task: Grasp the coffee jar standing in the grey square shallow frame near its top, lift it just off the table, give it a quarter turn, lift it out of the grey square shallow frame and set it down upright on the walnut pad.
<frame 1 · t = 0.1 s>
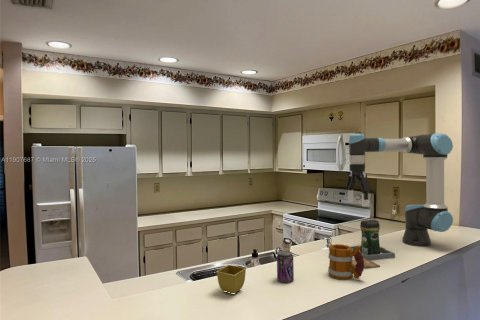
hand: (357, 204, 168), 28 cm above the counter, fingers open, 13 cm apart
coffee jar: (370, 254, 173), resting in grey square shallow frame
pad: (362, 264, 157), on the counter
beverage can: (285, 280, 139), on the counter
mug: (345, 277, 142), on the counter
grey square shallow frame: (370, 254, 173), on the counter
flower pot: (231, 292, 128), on the counter
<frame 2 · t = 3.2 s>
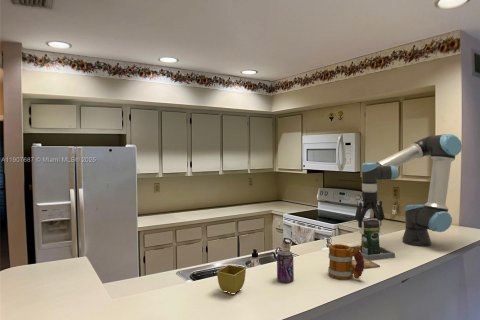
hand: (369, 232, 172), 12 cm above the counter, fingers closed on coffee jar, 9 cm apart
coffee jar: (370, 254, 173), resting in grey square shallow frame, touching gripper
everything else where it was.
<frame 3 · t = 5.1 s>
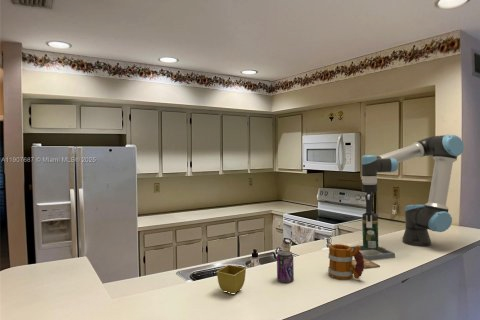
hand: (370, 225, 172), 16 cm above the counter, fingers closed on coffee jar, 9 cm apart
coffee jar: (370, 247, 173), point 4 cm above the counter, touching gripper
everything else where it was.
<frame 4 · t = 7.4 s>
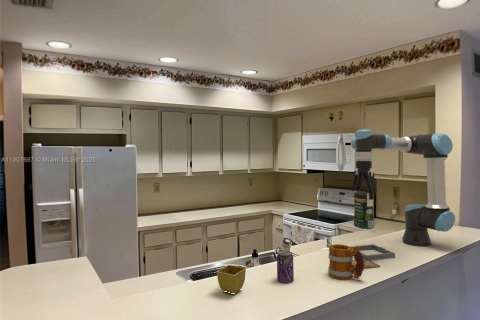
hand: (363, 204, 162), 28 cm above the counter, fingers closed on coffee jar, 9 cm apart
coffee jar: (363, 228, 162), point 17 cm above the counter, touching gripper
everything else where it was.
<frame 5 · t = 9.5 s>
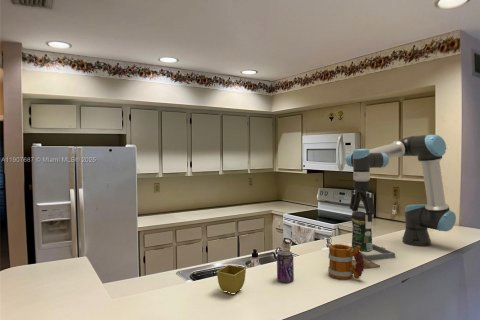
hand: (361, 226, 157), 19 cm above the counter, fingers closed on coffee jar, 9 cm apart
coffee jar: (362, 250, 157), point 7 cm above the counter, touching gripper
everything else where it was.
when the fingers open (13 cm above the counter, at t = 11.6 s): coffee jar stays where it is, resting on pad.
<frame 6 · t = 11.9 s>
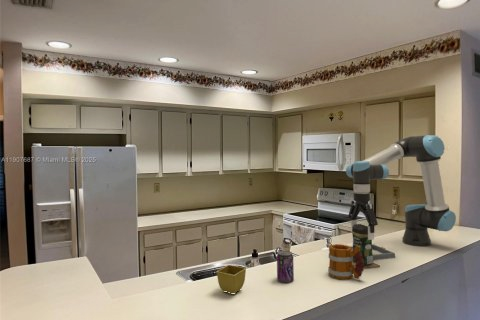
hand: (362, 236, 157), 14 cm above the counter, fingers open, 13 cm apart
coffee jar: (362, 263, 157), point 1 cm above the counter, touching pad
everything else where it was.
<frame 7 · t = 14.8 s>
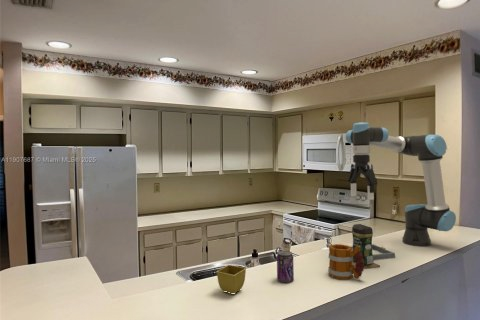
hand: (361, 197, 157), 33 cm above the counter, fingers open, 13 cm apart
nothing on the counter moved.
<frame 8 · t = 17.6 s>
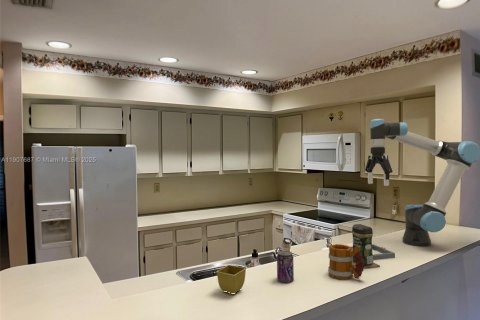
hand: (378, 184, 180), 37 cm above the counter, fingers open, 13 cm apart
nothing on the counter moved.
at the end: coffee jar inside the target area on the pad (0.1 cm from its centre), point 0.7 cm above the pad's base; coffee jar tilted 0°; the gripper is holding nothing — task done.
